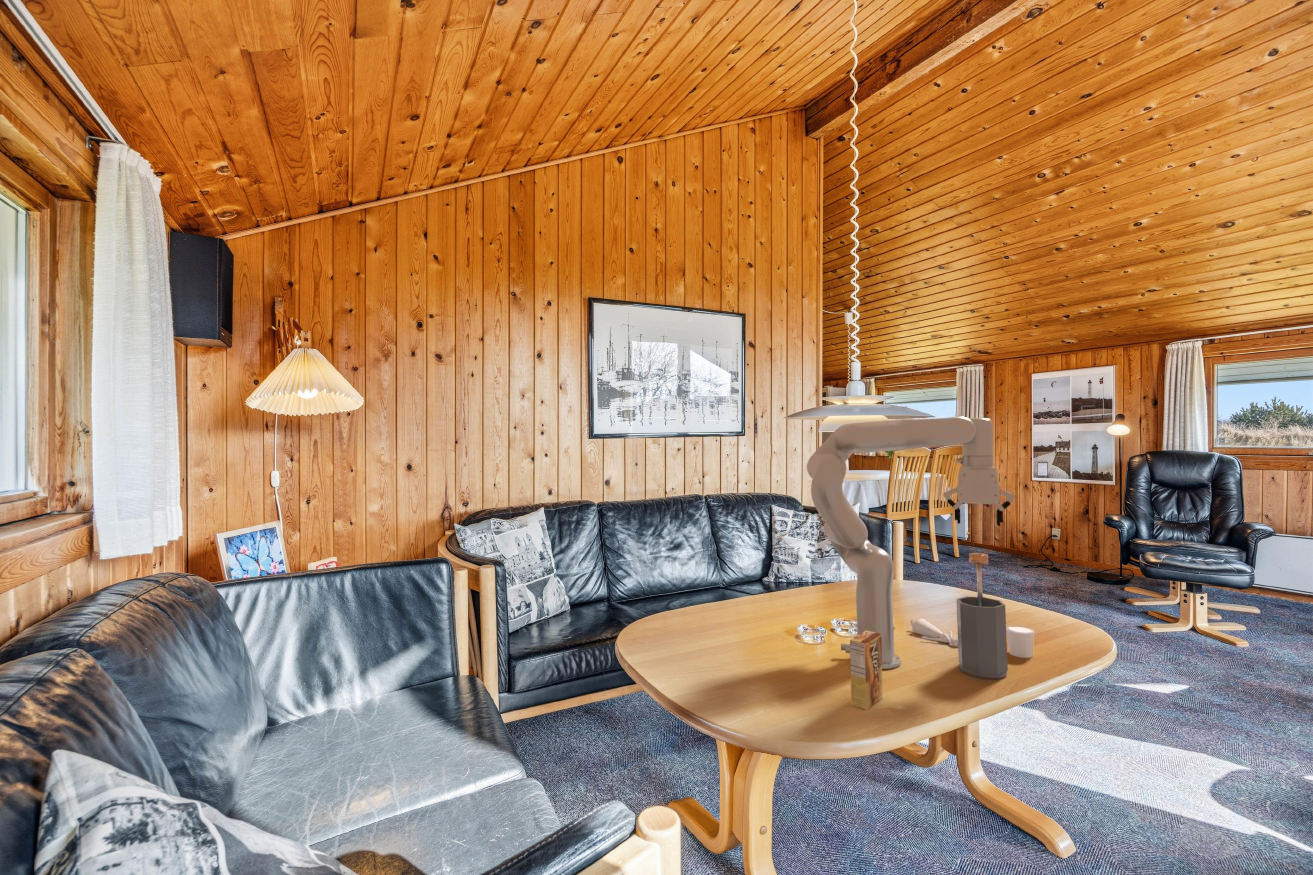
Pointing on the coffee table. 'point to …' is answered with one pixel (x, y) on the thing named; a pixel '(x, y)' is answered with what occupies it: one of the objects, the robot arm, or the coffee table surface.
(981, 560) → the plunger
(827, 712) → the coffee table surface
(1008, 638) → the white cylinder
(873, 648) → the candy box
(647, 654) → the coffee table surface
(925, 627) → the woman figurine
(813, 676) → the coffee table surface
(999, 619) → the press pot
